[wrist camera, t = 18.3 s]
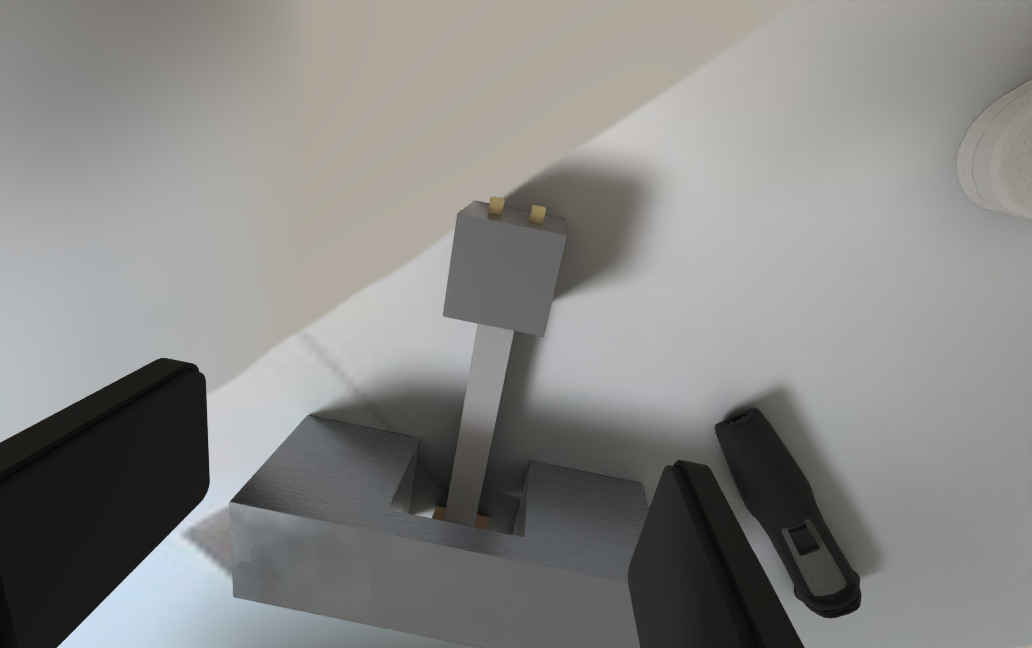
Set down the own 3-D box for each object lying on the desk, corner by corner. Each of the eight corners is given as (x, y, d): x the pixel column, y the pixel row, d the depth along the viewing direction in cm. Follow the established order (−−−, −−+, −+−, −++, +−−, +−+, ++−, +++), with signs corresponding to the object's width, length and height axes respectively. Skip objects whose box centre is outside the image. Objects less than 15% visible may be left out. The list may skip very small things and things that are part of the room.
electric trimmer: (757, 378, 26) (783, 409, 23) (855, 574, 30) (888, 622, 27) (691, 408, 26) (707, 441, 24) (794, 594, 30) (820, 642, 28)
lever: (489, 554, 31) (479, 618, 27) (422, 540, 31) (402, 602, 27) (567, 205, 23) (570, 219, 18) (476, 186, 23) (459, 196, 18)
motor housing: (615, 558, 30) (633, 678, 23) (304, 495, 30) (233, 597, 23) (642, 483, 28) (670, 592, 21) (307, 415, 28) (229, 502, 21)
